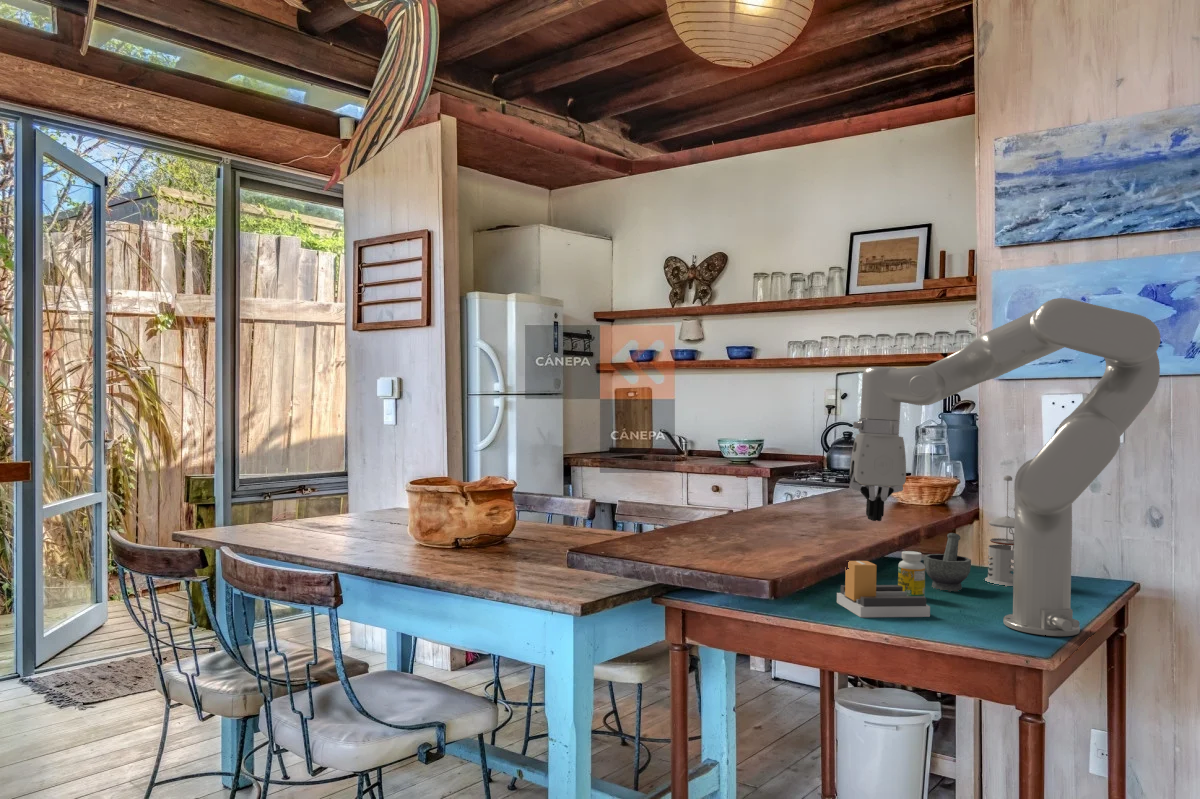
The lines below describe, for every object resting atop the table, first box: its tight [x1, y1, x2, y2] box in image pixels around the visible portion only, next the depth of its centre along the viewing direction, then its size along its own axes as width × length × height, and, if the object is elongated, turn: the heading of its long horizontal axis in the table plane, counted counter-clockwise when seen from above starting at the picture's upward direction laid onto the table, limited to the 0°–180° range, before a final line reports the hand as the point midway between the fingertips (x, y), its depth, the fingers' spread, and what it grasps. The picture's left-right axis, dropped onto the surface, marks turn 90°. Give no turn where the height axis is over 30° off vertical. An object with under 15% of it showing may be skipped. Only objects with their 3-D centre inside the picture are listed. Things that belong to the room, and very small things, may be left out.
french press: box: [984, 475, 1015, 587], centre depth 201 cm, size 10×12×25 cm
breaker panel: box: [836, 584, 931, 618], centre depth 172 cm, size 12×14×4 cm
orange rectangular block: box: [844, 560, 878, 601], centre depth 171 cm, size 4×4×7 cm
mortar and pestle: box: [923, 532, 972, 592], centre depth 193 cm, size 11×9×12 cm
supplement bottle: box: [897, 550, 926, 598], centre depth 183 cm, size 5×5×10 cm
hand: (874, 519), depth 172 cm, fingers closed
